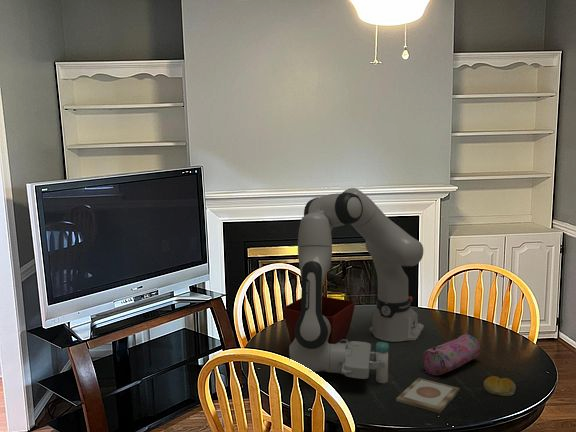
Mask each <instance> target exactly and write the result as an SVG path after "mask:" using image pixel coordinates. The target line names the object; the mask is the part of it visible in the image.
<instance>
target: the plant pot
mask: <svg viewBox="0 0 576 432" xmlns="http://www.w3.org/2000/svg"><path fill="white" fill-rule="evenodd" d="M355 304H356V302H355V301H352V300H347V299H342V298H341V299H340V298H337V297H335V298H334V297H330V296H324V295H322V315H324V316H325V317H326V318H327V319H328V320H329V322H330V325H331V333H330V335H329V339H328V343H329V344H336V343H338V342H340V341H341V340H343V339H345V340H347V338H348V335H349V330H350V328H351V324H352V321H353V316H354V311H355V307H356V305H355ZM282 310H283V316H284V321H285V325H286V329H287V333H288V336H289V339H290V341H291V343H292V342H293V341H294V339H295V326H296V323H297V321H298V319H299V316H300V313H301V297H300V298H298V299H297V300H295V301H293V302H291V303H289V304H287V305H285V306H283V309H282Z"/></svg>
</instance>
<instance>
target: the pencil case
mask: <svg viewBox="0 0 576 432" xmlns="http://www.w3.org/2000/svg"><path fill="white" fill-rule="evenodd" d="M480 353H481V345H480V342H479V341H478V339H477V338H476V337H474V336H472V335H470V334H468V333H465V334H462V335H459V336H458V338H455V339H452V340H450V341H447V342H444V343H442V344H440V345H437V346H435V347H432V348H429V349H427V350H425V351H424V353H423V356H422V357H423V367H424V370H425V371H426V373H427V374H429V375H430V374H431V376H440V375H441V376H442V375H443V374H447V373H449V372H451V371H454V370H455V369H458V368H461V367H462V366H464V365H466V364H467V363H469V362H470V361H472V360H475V359H476V358H478V357H479V355H480Z"/></svg>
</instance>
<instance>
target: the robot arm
mask: <svg viewBox="0 0 576 432" xmlns="http://www.w3.org/2000/svg"><path fill="white" fill-rule="evenodd" d="M346 225H347V226H349V225H350V226H352V227H353V229H355V230H356V232H357V233H358V234H359V235H360V236H361V237H362V238H363V239H364V240H365V248H366V250H367V252H368V253H369V255H370V256H371V258H372V261H373V264H374V268H375V271H376V278H377V297H376V301H375V302H376V303H375V304H376V309H375V310H373V315H372V316H373V319H372V326H370V327H369V332H370V333H372V335H373V336H374V337H375V338H376V339H379V340H381V341H384V342H392V343H393V342H394V343H395V342H396V343H397V342H406V341H417V340H418V338H419V336H420V335H421V333H422V332H421V331H423V330H424V329H425V326H424V324H422V323H420V322H418V321H419V319H418V316H419V315H418V313H417V312H416V311H415V310H414V309H413V308H412V307H411V303H412V302H413V299H414V298H413V296H410V295H409V277H408V275H407V274H406V273H405V271H404V269H403V267H414V266H417V265H418V264H419V263H420V262H421V261H422V259H423V256H424V246H423V244H422V242H420V241H419V240H418V239H417V238H414V237H413V236H412V235H410V234H409V233H407V231H405V230H404V229H403V228H401V227H400V226H399V225H397V224H396V223H395V222H394V221H392V219H390V218H389V217H388V216H386V214H385V213H384V212H383V211H382V210H381V209H380V208H379V207H378V206H377V204H376V203H375V202H374V201H373V200H372V199H371V198H370V197H369V196H367V195H366V194H365V193H364V192H363V191H362V190H359V189H358V188H355V187H350V188H347V189H345V190H344V191H343V192H340V193H338V192H337V193H329V194H327V195H323V196H319V197H314V198H312V199H309V200H308V202H306V204H305V207H304V210H303V216H302V217H301V219H300V223H299V228H298V235H297V237H298V238H297V258H298V266H299V267H298V268H299V271H300V279H301V280H300V281H301V296H300V298H301V313H300V316H299V319H298V321H297V323H296V326H295V339H294V341H293V342H291V343H290V344H289V347H288V359H289V360H290V359H292V360H294V361H296V362H298V363H300V364H302V365H304V366H305V367H307V368H309V369H311V370H312V371H314V372H315V373H318V372H327V373H330V374H341V375H344V376H345V377H348V378H353V379H361V380H363V379H364V380H365V379H368V378H369V375H370V370H376V369H377V368H384V367H385V361H381V360H379V361H377V362H376V361H374V360H376V352H375V351H372V343H369V342H367V341H357V340H356V341H355V340H352V341H348V339H346V340H345V339H343V340H341V341H340V342H338V343H336V344H329V343H328V339H329V335H330V333H331V325H330V322H329V320H328V319H327V318H326V317H325V316H324V315H322V296H323V284H324V280H325V277H326V276H327V273H328V272H329V271H330V268H331V264H332V256H333V241H332V240H333V238H332V236H333V235H332V230H333V228H337V227H342V226H346ZM416 339H417V340H416ZM312 371H311V372H312Z"/></svg>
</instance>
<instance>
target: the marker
mask: <svg viewBox="0 0 576 432" xmlns="http://www.w3.org/2000/svg"><path fill="white" fill-rule="evenodd" d="M389 347H390V346H389V343H388V342H387V341H377V342H376V343H375V351H376V359H375V360H376V361H375V362H377V361H379V360H381V361H385V367H384V368H377V369H375V372H376V373H375V376H376V377H375V381H376V382H377V383H379V384H386V383H388V382H389V349H390V348H389Z"/></svg>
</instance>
